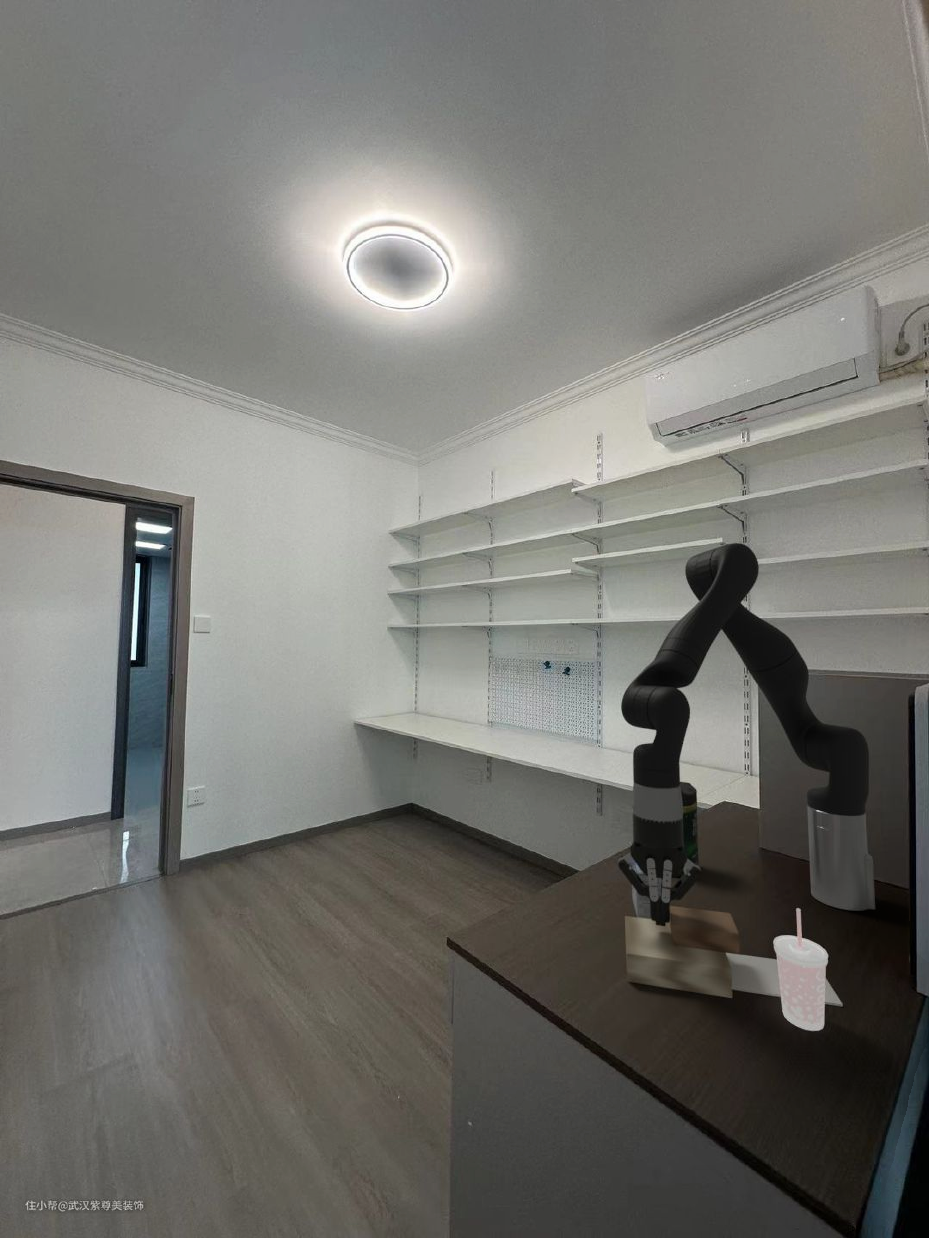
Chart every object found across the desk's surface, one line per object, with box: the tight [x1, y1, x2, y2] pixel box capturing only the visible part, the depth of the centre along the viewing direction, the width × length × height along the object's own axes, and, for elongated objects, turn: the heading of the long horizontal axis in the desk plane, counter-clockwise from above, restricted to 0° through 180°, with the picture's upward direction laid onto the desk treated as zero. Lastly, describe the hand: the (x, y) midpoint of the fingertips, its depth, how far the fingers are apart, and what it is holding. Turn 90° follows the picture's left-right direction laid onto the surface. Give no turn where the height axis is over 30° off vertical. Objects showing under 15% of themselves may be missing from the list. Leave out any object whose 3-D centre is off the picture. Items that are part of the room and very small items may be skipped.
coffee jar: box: [675, 781, 700, 877], centre depth 115 cm, size 10×8×19 cm
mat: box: [726, 953, 844, 1007], centre depth 77 cm, size 14×9×1 cm, turn 74°
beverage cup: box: [772, 907, 829, 1032], centre depth 69 cm, size 6×6×14 cm
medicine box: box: [631, 860, 661, 919], centre depth 97 cm, size 8×4×9 cm, turn 168°
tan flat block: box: [624, 915, 733, 999], centre depth 80 cm, size 14×11×4 cm
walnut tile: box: [669, 905, 741, 955], centre depth 80 cm, size 9×6×3 cm, turn 74°
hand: (660, 923), depth 82 cm, fingers closed
